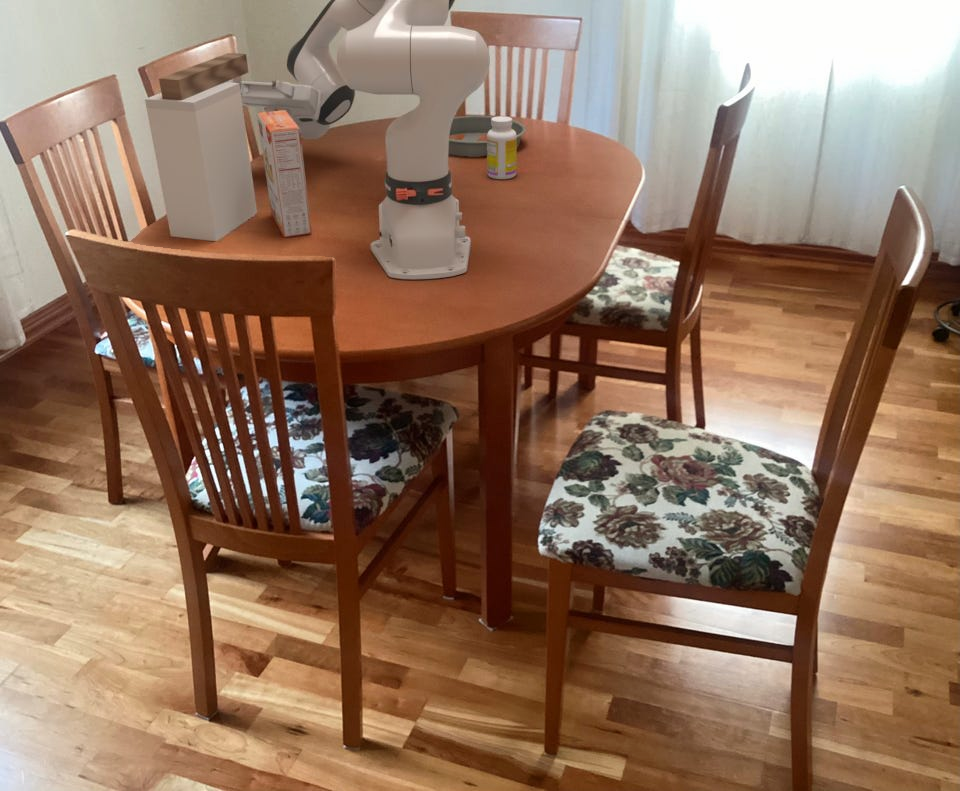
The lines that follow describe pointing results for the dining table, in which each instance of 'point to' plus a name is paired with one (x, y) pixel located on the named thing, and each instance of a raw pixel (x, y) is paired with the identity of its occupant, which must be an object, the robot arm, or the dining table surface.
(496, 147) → the supplement bottle
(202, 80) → the walnut bar
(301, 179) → the cracker box
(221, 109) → the grey pedestal
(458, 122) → the cake pan
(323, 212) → the dining table surface
